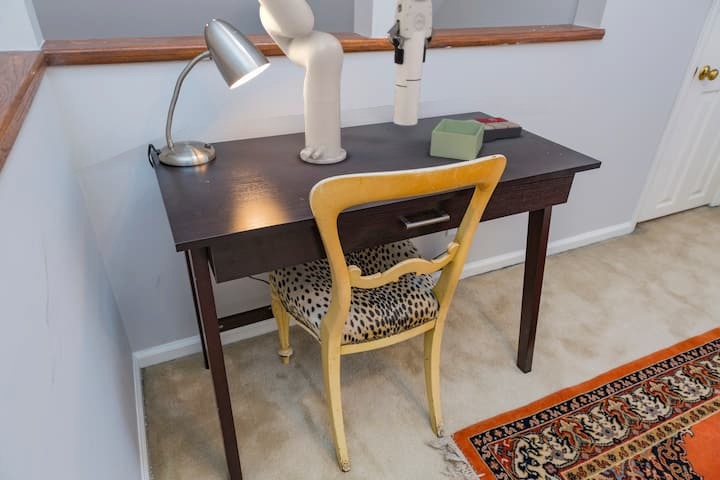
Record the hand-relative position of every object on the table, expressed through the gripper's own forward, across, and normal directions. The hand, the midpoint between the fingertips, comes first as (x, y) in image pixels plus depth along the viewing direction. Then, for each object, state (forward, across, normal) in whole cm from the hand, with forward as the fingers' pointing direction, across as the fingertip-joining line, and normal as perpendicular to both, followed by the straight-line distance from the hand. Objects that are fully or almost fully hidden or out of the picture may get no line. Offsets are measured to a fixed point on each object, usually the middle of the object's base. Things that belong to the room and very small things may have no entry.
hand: (409, 62), depth 136 cm
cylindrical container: (+17, 0, 0) cm, 17 cm away
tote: (+22, +7, -15) cm, 28 cm away
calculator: (+22, +27, -10) cm, 36 cm away
